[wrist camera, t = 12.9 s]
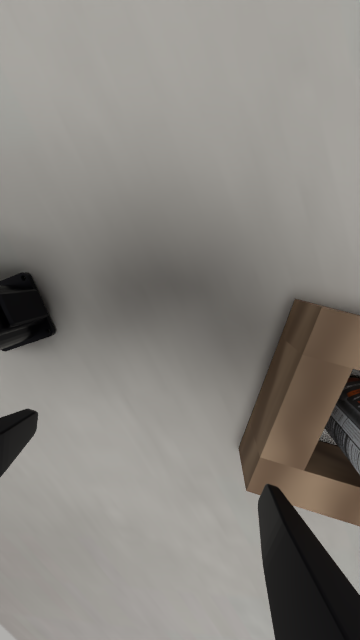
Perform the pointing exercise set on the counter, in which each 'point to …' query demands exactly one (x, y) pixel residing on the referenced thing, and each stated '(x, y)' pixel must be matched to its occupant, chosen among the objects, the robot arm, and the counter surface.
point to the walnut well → (305, 414)
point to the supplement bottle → (347, 422)
